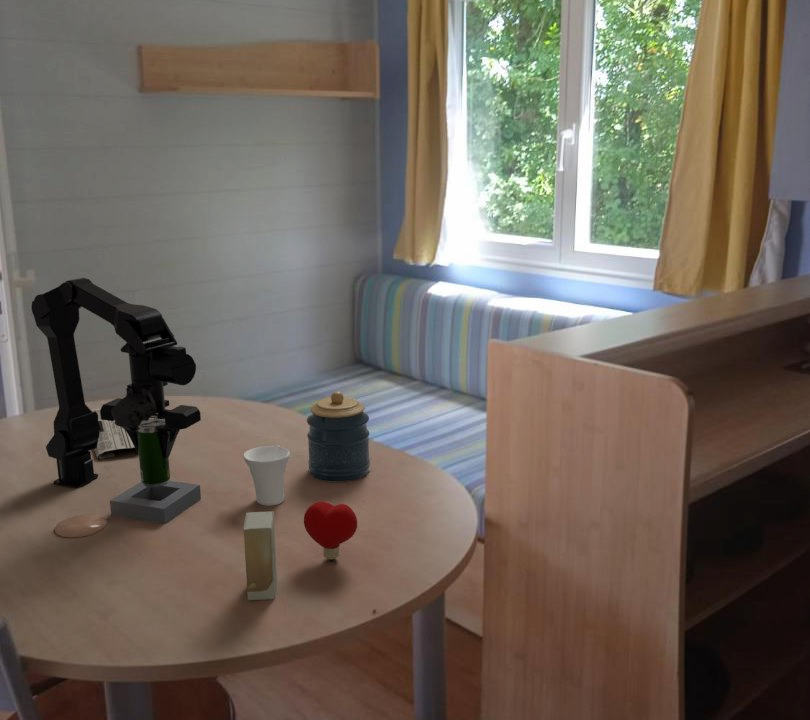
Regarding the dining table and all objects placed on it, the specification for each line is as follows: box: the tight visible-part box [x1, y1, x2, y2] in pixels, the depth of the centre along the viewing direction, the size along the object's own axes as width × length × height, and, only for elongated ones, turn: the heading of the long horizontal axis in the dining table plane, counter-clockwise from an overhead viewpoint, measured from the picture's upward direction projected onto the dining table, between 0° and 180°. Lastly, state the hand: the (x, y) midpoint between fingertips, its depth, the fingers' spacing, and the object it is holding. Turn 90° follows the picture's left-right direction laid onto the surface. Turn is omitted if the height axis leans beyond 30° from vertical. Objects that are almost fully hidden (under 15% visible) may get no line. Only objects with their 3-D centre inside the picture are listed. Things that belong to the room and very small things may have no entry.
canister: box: [306, 390, 371, 483], centre depth 186 cm, size 13×13×18 cm
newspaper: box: [90, 407, 137, 460], centre depth 213 cm, size 35×12×4 cm, turn 25°
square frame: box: [109, 480, 202, 525], centre depth 171 cm, size 12×12×3 cm
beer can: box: [137, 418, 171, 487], centre depth 169 cm, size 5×5×12 cm
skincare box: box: [243, 510, 278, 601], centre depth 138 cm, size 6×4×12 cm
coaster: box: [54, 514, 108, 539], centre depth 163 cm, size 9×9×1 cm
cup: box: [242, 444, 291, 507], centre depth 173 cm, size 9×9×10 cm
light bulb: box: [303, 500, 358, 561], centre depth 149 cm, size 9×7×10 cm
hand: (153, 456), depth 169 cm, fingers closed on beer can, 5 cm apart
